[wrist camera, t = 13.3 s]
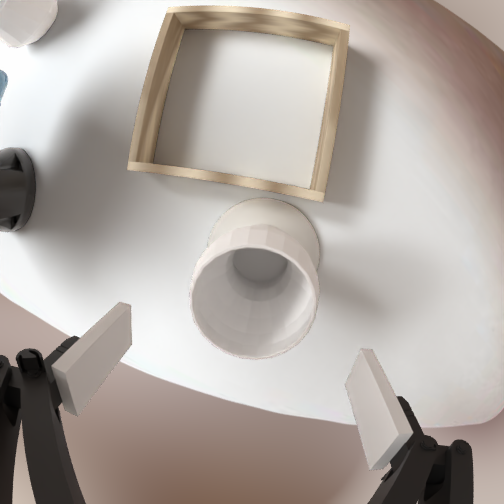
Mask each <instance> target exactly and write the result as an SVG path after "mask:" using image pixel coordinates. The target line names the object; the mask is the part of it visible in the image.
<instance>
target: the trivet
mask: <svg viewBox="0 0 504 504" xmlns="http://www.w3.org/2000/svg"><path fill="white" fill-rule="evenodd" d="M255 224H268V225H271V226H274V227H276V228H278V229H279V230H281V231H283V232H285V233H286V234H288V235H289V236H291V237H292V238H294V239H295V240H296V241H298V242H299V243H300V245H301V246H302V247H303V248H304V249H305V251H306V252H307V253H308V255H309V257H310V259H311V261H312V263H313V266H314V268H315V270H316V272H317V269H318V265H319V259H320V249H319V242H318V238H317V235H316V233H315V230H314V228H313V227H312V225H311V223H310V222H309V221H308V219H307V218H306V217H305V216H304V215H303V214H302V213H301V212H300V211H299V210H297V209H296V208H295V207H293V206H291V205H290V204H288V203H285V202H283V201H280V200H276V199H271V198H255V199H250V200H246V201H243V202H241V203H239V204H236V205H235V206H233V207H232V208H230V209H229V210H227V211H226V212H225V213H224V214H223V215H222V216H221V217H220V218H219V219H218V221H217V222H216V224H215V225H214V227H213V229H212V231H211V233H210V236H209V240H208V244H207V248H208V247H209V246H210V245H211V244H212V243H213V242H214V241H216V240H217V239H218V238H219V237H220V236H221V235H223V234H225V233H227V232H229V231H231V230H233V229H235V228H240V227H246V226H251V225H255Z"/></svg>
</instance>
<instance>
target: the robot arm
mask: <svg viewBox="0 0 504 504" xmlns="http://www.w3.org/2000/svg"><path fill="white" fill-rule="evenodd" d="M7 83H8V77H7V74H6V73H5V72H4V71H2V70H0V102H1V100H2V97H3V94H4V92H5V89H6V86H7ZM0 106H1V103H0ZM34 198H35V175H34V170H33V166H32V163H31V160H30V158H29V156H28V155H27V153H26V152H25V151H24V150H22V149H20V148H5V149H2V150H0V231H2V232H11V231H14V230H18V229H20V228H22V227H23V226H24V225H25V224H26V222H27V221H28V219H29V217H30V214H31V212H32V208H33V204H34ZM131 345H132V332H131V305H129V304H125V303H122V302H119V303H118V304H117V305H116V306H114V307H113V308H112V309H111V310H110V311H109V312H108V313H107V314H106V315H104V316H103V317H102V318H101V319H100V320H99V321H98V322H97V323H96V324H95V325H94V326H93V327H91V328H90V329H89V330H88V331H87V332H86V333H85V334H84V335H83V336H82V337H81V338H79V337H77V336H73V337H71V338H68V339H66V340H65V341H64V342H63V343H62V344H61V346H58V348H56V350H54V351H53V352H52V353H51V354H50V355H49V356H48V357H47V358H46V359H44V360H43V357H42V354H41V353H40V352H39V351H38V350H36V349H30V348H29V349H24V350H22V351H20V352H19V353H18V354H17V356H16V361H17V364H18V367H19V368H18V367H14V366H10V363H9V360H8V358H7V357H5V356H3V355H0V504H12V492H13V476H14V465H15V456H16V448H17V442H18V435H19V430H20V424H21V419H22V428H23V438H24V446H25V453H26V459H27V465H28V471H29V475H30V481H31V485H32V490H33V494H34V497H35V501H36V504H86V503H85V500H84V498H83V495H82V492H81V490H80V487H79V484H78V481H77V478H76V475H75V472H74V469H73V465H72V462H71V458H70V455H69V451H68V448H67V443H66V439H65V435H64V431H63V426H62V421H61V416H60V411H59V408H58V406H59V405H60V404H61V403H63V406H64V409H65V411H68V412H69V413H71V414H73V415H75V416H77V417H78V416H79V415H80V413H81V412H82V411H83V409H84V408H85V407H86V405H87V404H88V402H89V401H90V400H91V398H92V397H93V395H94V394H95V393H96V391H97V390H98V389H99V387H100V386H101V385H102V383H103V382H104V381H105V379H106V378H107V377H108V375H109V374H110V373H111V371H112V370H113V369H114V367H115V366H116V365H117V363H118V362H119V361H120V359H121V358H122V357H123V356H124V354H125V353H126V352H127V350H128V349H129V348H130V346H131ZM345 387H346V390H347V393H348V397H349V400H350V403H351V406H352V410H353V413H354V417H355V420H356V423H357V427H358V430H359V434H360V437H361V441H362V444H363V448H364V452H365V456H366V459H367V463H368V467H369V470H378V469H384V468H385V467H386V466H387V464H388V463H389V462H390V464H391V467H392V468H391V469H390V470H389V471H388V472H387V474H385V475H384V477H383V478H382V479H381V480H383V481H382V483H381V484H380V486H379V488H378V489H377V491H376V492H375V494H374V495H373V497H372V498H371V499H370V501H369V502H368V504H416V503H417V501H418V504H473V458H472V449H471V446H470V445H469V444H468V443H467V442H466V441H464V440H455V441H454V442H453V443H452V444H451V446H442V445H438V444H437V442H436V440H435V439H434V438H432V437H431V436H427V435H424V434H423V432H422V429H421V427H420V425H419V423H418V421H417V419H416V417H415V416H414V413H413V411H411V410H412V409H411V407H410V405H409V403H408V402H407V401H406V400H405V399H404V398H403V397H402V396H396V395H395V393H394V391H393V389H392V387H391V385H390V383H389V381H388V379H387V377H386V375H385V373H384V371H383V369H382V367H381V365H380V363H379V361H378V359H377V358H376V356H375V354H374V352H373V350H372V349H360V351H359V354H358V356H357V359H356V361H355V363H354V365H353V368H352V370H351V372H350V374H349V377H348V379H347V381H346V383H345ZM418 499H419V500H418Z"/></svg>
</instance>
